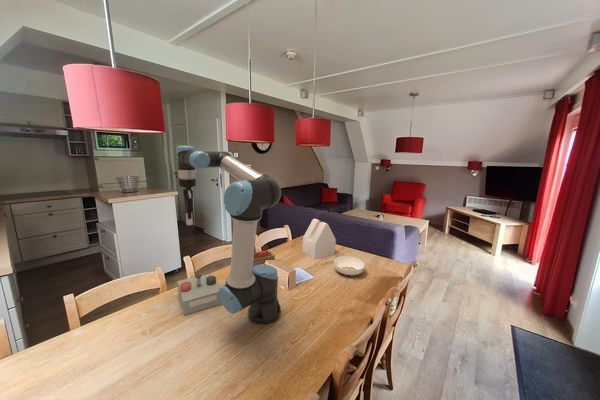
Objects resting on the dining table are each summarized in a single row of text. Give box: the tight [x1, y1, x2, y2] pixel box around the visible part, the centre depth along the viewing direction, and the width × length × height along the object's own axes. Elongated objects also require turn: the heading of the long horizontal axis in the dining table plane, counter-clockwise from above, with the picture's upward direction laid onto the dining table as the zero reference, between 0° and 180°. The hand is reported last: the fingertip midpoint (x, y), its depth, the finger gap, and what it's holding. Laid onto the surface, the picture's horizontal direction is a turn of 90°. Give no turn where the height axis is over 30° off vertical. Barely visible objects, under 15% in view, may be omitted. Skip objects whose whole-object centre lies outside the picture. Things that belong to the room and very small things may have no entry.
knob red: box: [180, 282, 191, 292], centre depth 118 cm, size 5×5×9 cm
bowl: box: [333, 255, 366, 277], centre depth 156 cm, size 20×20×6 cm
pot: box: [195, 273, 202, 287], centre depth 121 cm, size 3×3×6 cm
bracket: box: [258, 251, 268, 258], centre depth 163 cm, size 12×4×8 cm, turn 114°
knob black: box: [206, 275, 217, 285], centre depth 125 cm, size 5×5×9 cm
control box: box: [177, 272, 223, 316], centre depth 122 cm, size 20×17×7 cm
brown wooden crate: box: [253, 249, 276, 267], centre depth 164 cm, size 10×17×5 cm, turn 123°
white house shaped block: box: [302, 218, 337, 260], centre depth 181 cm, size 19×15×25 cm
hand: (189, 224), depth 122 cm, fingers closed
